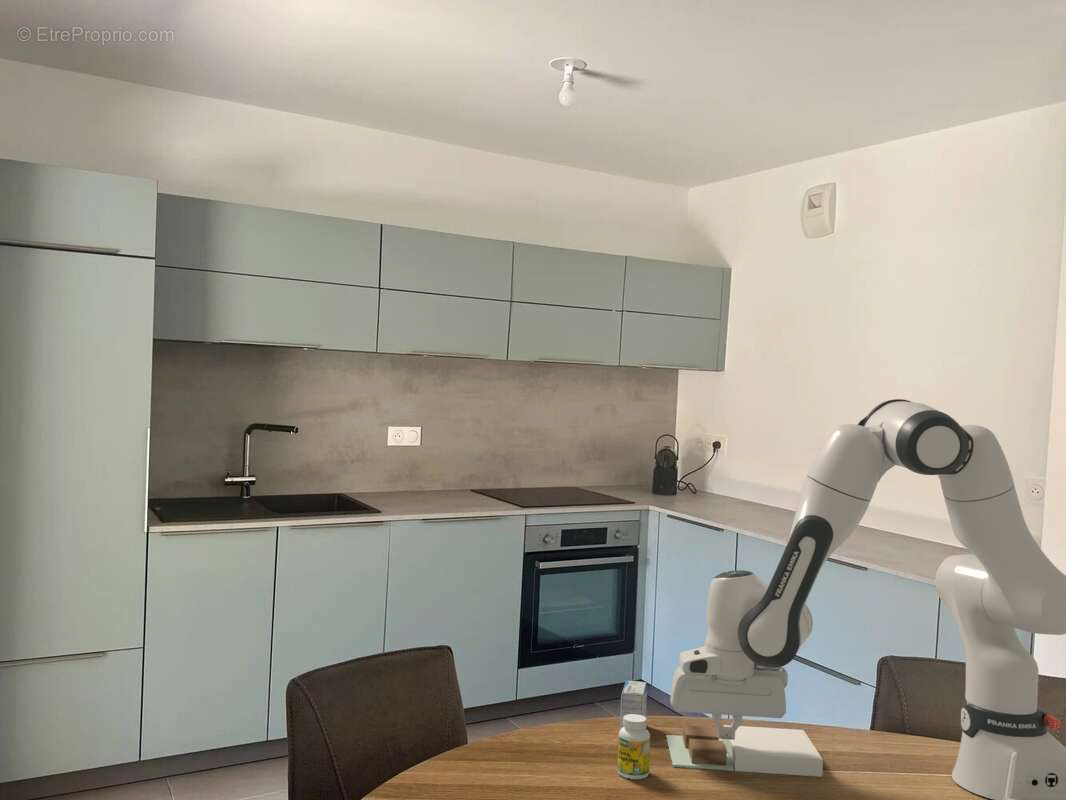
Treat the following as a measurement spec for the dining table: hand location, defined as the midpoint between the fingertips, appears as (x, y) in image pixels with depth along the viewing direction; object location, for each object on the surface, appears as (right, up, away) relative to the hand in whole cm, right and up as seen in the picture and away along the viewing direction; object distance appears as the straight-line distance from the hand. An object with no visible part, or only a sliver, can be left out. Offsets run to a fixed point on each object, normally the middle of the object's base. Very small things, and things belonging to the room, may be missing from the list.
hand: (725, 738), depth 159 cm
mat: (-4, -4, +4) cm, 7 cm away
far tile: (-3, -4, +7) cm, 9 cm away
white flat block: (+9, -5, +3) cm, 10 cm away
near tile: (-3, -4, 0) cm, 5 cm away
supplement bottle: (-17, -4, -7) cm, 19 cm away
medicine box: (-15, -4, +13) cm, 21 cm away
